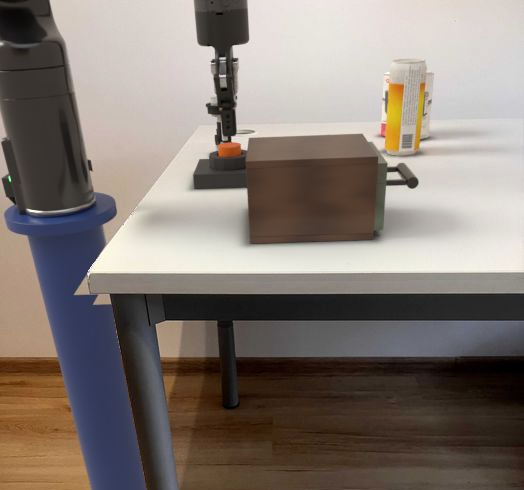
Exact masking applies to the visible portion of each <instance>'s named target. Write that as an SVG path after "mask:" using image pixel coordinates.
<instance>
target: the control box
mask: <svg viewBox="0 0 524 490" xmlns="http://www.w3.org/2000/svg"><path fill="white" fill-rule="evenodd" d="M246 156H247V149H242V148H241V155H240V156H234V157H221V156H219V154H218V151H215V150H214V151H212V152H210V153H209V154H208V158H199V159H198V161H197V164H196V166H195V168H194V172H193V173H192V176H193V177H192V178H193V189H194V190H201V189H202V190H203V189H205V190H206V189H229V188H230V189H231V188H232V189H233V188H247V176H246Z"/></svg>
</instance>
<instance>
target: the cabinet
mask: <svg viewBox="0 0 524 490" xmlns="http://www.w3.org/2000/svg"><path fill="white" fill-rule="evenodd" d="M369 142H370V141H369V140H368V139H367V138H366V137H365V135H364V133H342V134H339V133H337V134H316V135H314V134H313V135H311V134H310V135H291V136H290V135H287V136H262V137H258V136H257V137H248V141H247V149H246V150H247V156H246V176H247V187H246V195H247V213H248V215H247V216H248V232H249V233H248V234H249V245H250V244H251V245H252V244H280V243H308V242H310V243H311V242H313V243H314V242H341V241H342V242H343V241H370V240H371V241H373V240H374V236H375V235H374V232H375V230H374V219H375V203H376V187H377V171H378V155H377V154H376V153H375V151H374V150H373V148H372V147H371V145H370V144H369Z"/></svg>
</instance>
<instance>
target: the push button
mask: <svg viewBox="0 0 524 490" xmlns="http://www.w3.org/2000/svg"><path fill="white" fill-rule="evenodd" d="M209 99H210V101H209V102H207V103H205V107H206V110H207V114H208V115H211V117H212V118H216V129H215V130H216V134H214V144H215V147H214V149H215V150H214V152H215V151H218V145H219V144H222V143H228V142H233V141H232V136H227V137H225V136H223V134H222V123H221V111H220V110H219V108H218V106H217V95H216V96H212V97H210V98H209Z"/></svg>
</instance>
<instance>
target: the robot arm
mask: <svg viewBox="0 0 524 490" xmlns="http://www.w3.org/2000/svg"><path fill="white" fill-rule="evenodd" d="M248 3H249V1H248V0H193V8H194V9H193V10H194V21H195V32H196V33H195V34H196V42H197V45H199V46H200V47H208V48H209V47H212V48H213V49H214V58H212V59H211V60H210V73H211V75H212V79H213V90H214V94H215V95H216V96H217V106H218V108H219V110H220V111H221V123H222V134H223V136H225V137H227V136H231V137H235V136H236V135H237V133H238V127H237V126H238V125H237V106H238V102H237V100H238V95H237V94H238V90H239V70H240V61H239V60H240V59H239V57H234V48H233V46H241V45H246V44H248V43H249V42H250V26H249V25H250V24H249V22H250V21H249V5H248ZM54 17H55V16H54V13H53V9H52V5H51V0H0V117H1V122H2V125H3V129H4V133H5V136H3V137H2V138H1V139H0V145H1V149H2V153H3V156H4V161H5V164H6V169H7V174H5V175H4V176H2V177H1V184H2V186H3V191H4V194H5V198H8V200H10V202H12V204H13V205H14V204H15V205H17V208H18V212H19V215H29V216H33V217H41V218H53V217H63V216H69V215H74V214H78V213H81V212H84V211H86V210H89V209H91V208H92V207H94V206H95V205H96V198H95V195H94V192H95V191H94V186H93V182H92V176H91V172H94V170H93V163H92V159H91V160H90V159H88V154H87V148H86V143H85V142H86V141H85V138H84V132H83V127H82V122H81V116H80V110H79V104H78V100H77V95H76V88H75V84H74V83H75V82H74V78H73V73H72V67H71V64H70V57H69V51H68V47H67V42H66V41H65V39H64V37H63V35H62V34H61V32H60V30H59V28H58V26H57V23H56V20H55V18H54Z"/></svg>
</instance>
